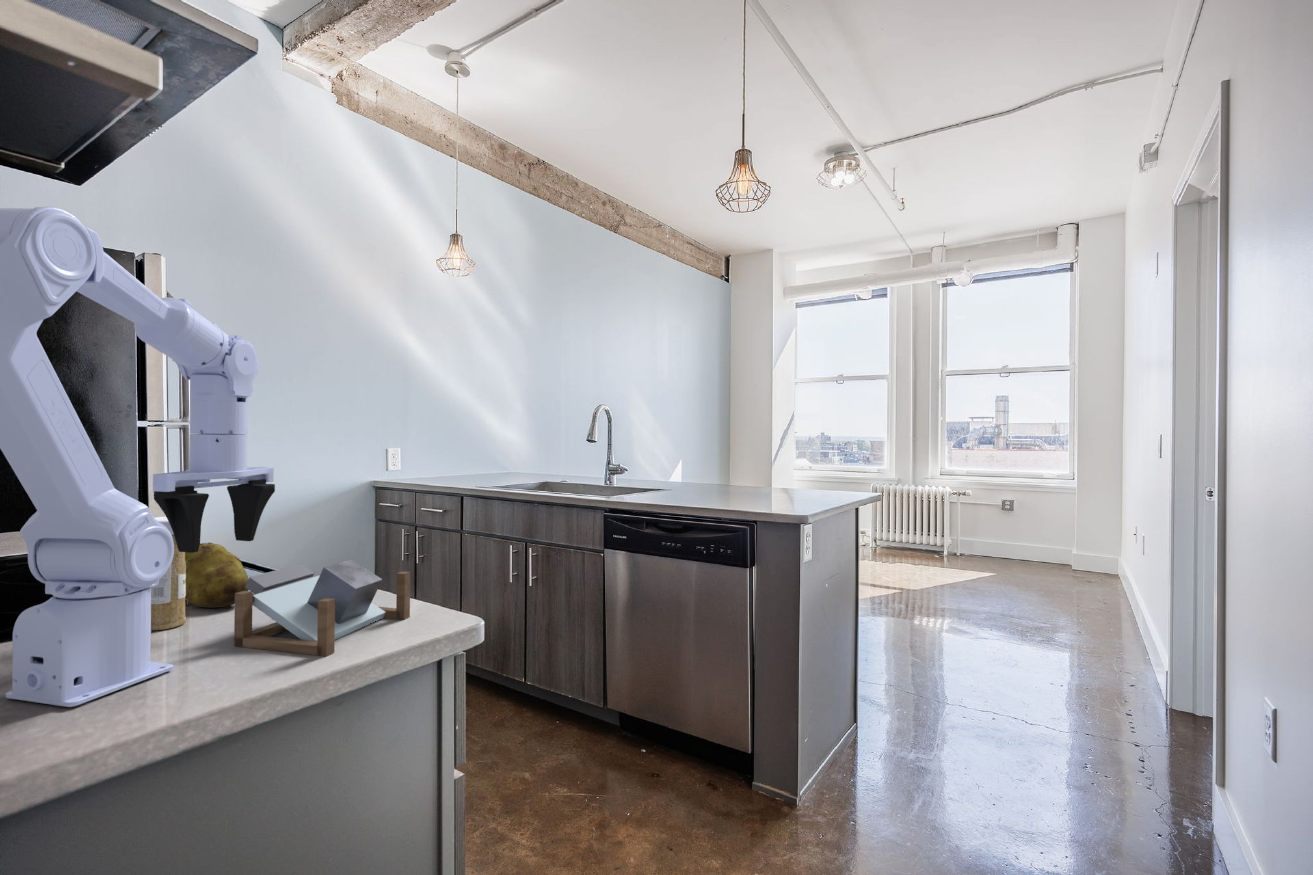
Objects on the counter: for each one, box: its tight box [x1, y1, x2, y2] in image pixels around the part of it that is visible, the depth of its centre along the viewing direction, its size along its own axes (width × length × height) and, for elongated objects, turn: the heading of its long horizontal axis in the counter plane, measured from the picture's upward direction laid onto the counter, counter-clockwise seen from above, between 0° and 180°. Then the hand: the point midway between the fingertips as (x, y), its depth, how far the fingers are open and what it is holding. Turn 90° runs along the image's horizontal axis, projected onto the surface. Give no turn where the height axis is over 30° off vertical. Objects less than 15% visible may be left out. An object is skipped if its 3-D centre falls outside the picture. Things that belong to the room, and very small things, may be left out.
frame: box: [233, 571, 411, 657], centre depth 78 cm, size 15×12×6 cm
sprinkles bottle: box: [151, 516, 187, 632], centre depth 78 cm, size 5×5×14 cm
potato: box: [185, 542, 249, 609], centre depth 89 cm, size 8×13×8 cm, turn 40°
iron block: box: [307, 559, 383, 624], centre depth 78 cm, size 5×5×5 cm
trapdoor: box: [245, 563, 386, 642], centre depth 78 cm, size 12×13×1 cm
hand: (218, 545), depth 77 cm, fingers open, 7 cm apart
